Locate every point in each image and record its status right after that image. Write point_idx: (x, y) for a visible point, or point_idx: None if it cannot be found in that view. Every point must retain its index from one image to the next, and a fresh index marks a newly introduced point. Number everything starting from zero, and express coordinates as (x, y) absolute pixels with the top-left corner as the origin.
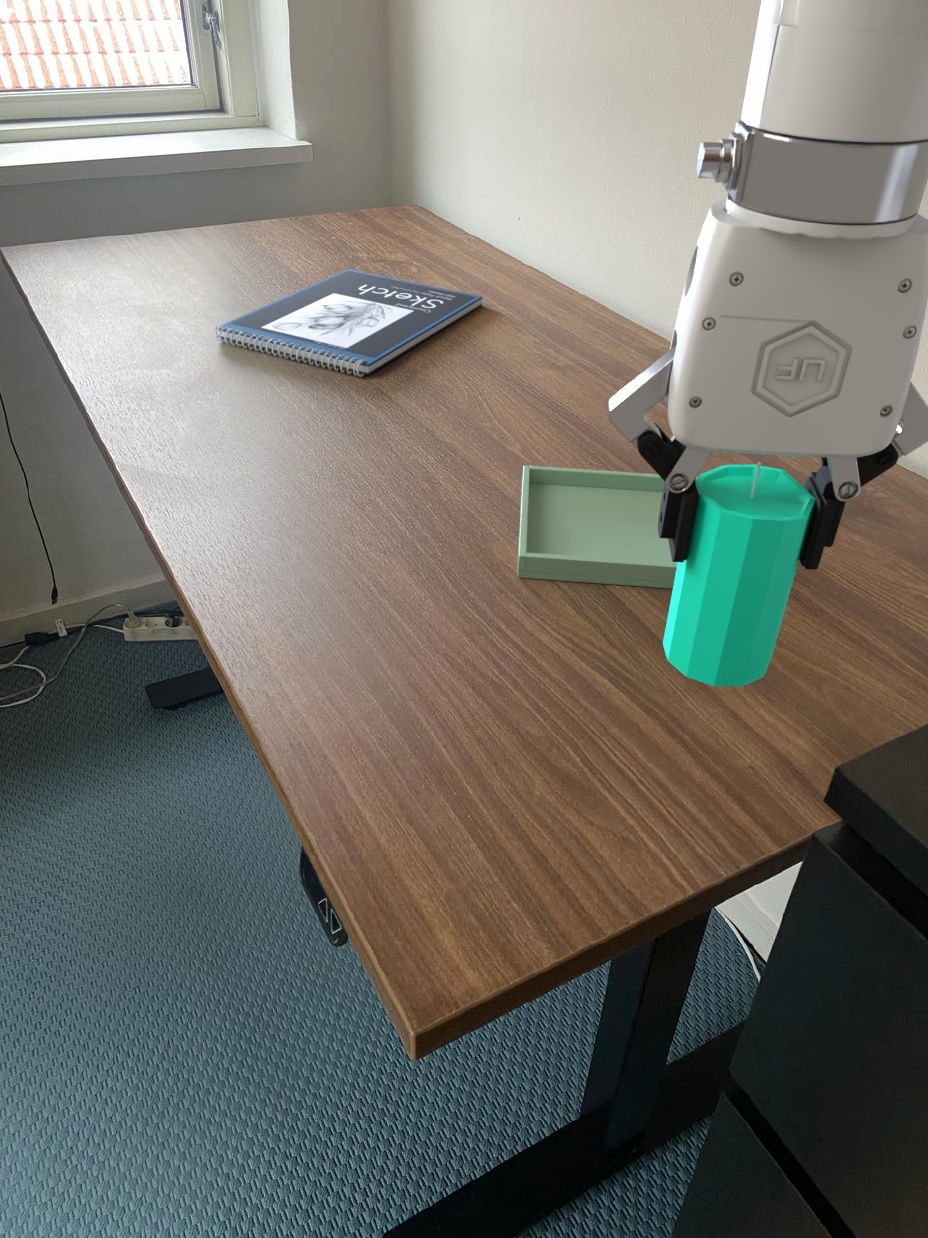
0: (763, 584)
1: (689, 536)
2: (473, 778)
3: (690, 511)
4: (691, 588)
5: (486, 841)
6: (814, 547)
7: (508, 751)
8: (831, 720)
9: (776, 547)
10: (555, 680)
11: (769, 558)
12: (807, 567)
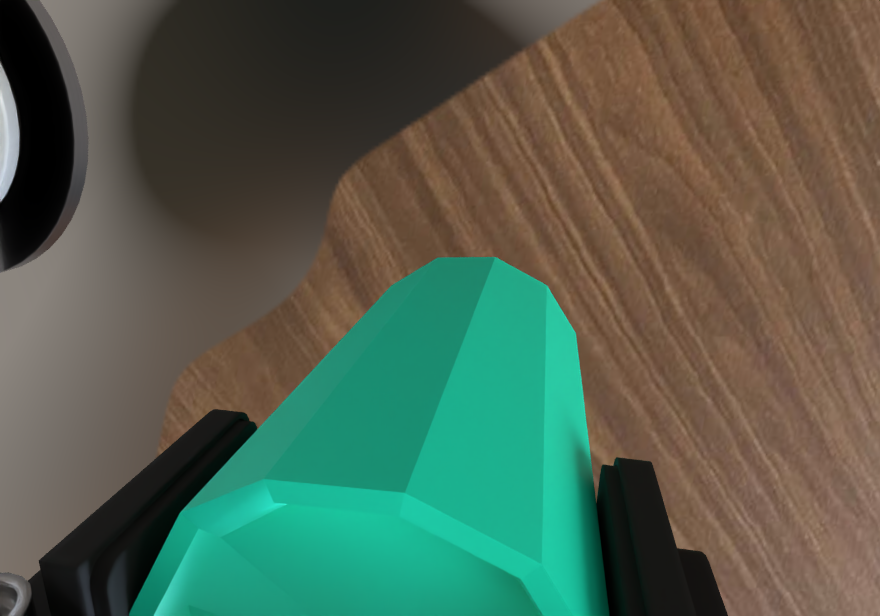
0: (381, 350)
1: (622, 519)
2: (856, 244)
3: (659, 601)
4: (569, 404)
5: (856, 110)
6: (199, 447)
7: (783, 303)
8: (283, 366)
9: (323, 413)
10: (675, 451)
11: (353, 393)
12: (241, 413)
